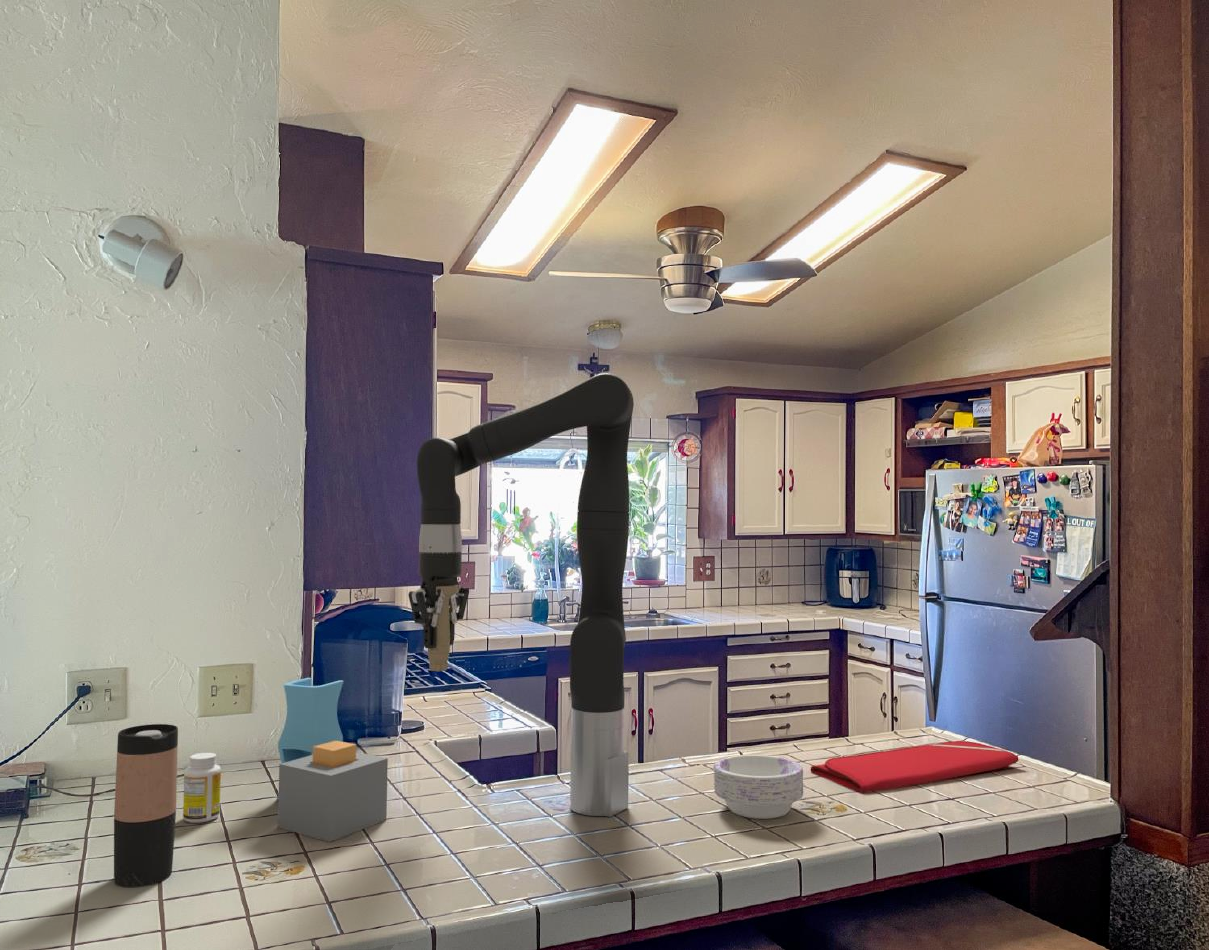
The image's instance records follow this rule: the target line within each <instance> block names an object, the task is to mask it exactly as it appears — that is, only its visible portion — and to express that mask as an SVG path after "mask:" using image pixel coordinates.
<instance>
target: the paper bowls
mask: <svg viewBox="0 0 1209 950" xmlns="http://www.w3.org/2000/svg"><path fill="white" fill-rule="evenodd" d="M803 779H804V770H803V766H802V765H801V764H800V763H798V762H797V761H795V760H792V759H789V758H786V757H781V756H775V755H766V754H765V755H764V754H740V755H733V756H728V757H724V758H721V759H719V760H717V761H716V762H715V763H714V765H713V785H714V786H713V788H714V794H715V795H716V796H718V797H719V798H720V799H722V800H724V801H725V804H726V807H727V808H728V809H729V811H731V812H732V813H734V814H736V815H738V816H739V817H740V816H741V817H744V818H748V819H757V820H770V819H771V820H772V819H777V818H781V817H783V816H785V815H787V813H788V812H789V811H790V810H791V808H792V806H793V803H795V802H797V801H800V800H801V799H803V796H804V780H803Z"/></svg>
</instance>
